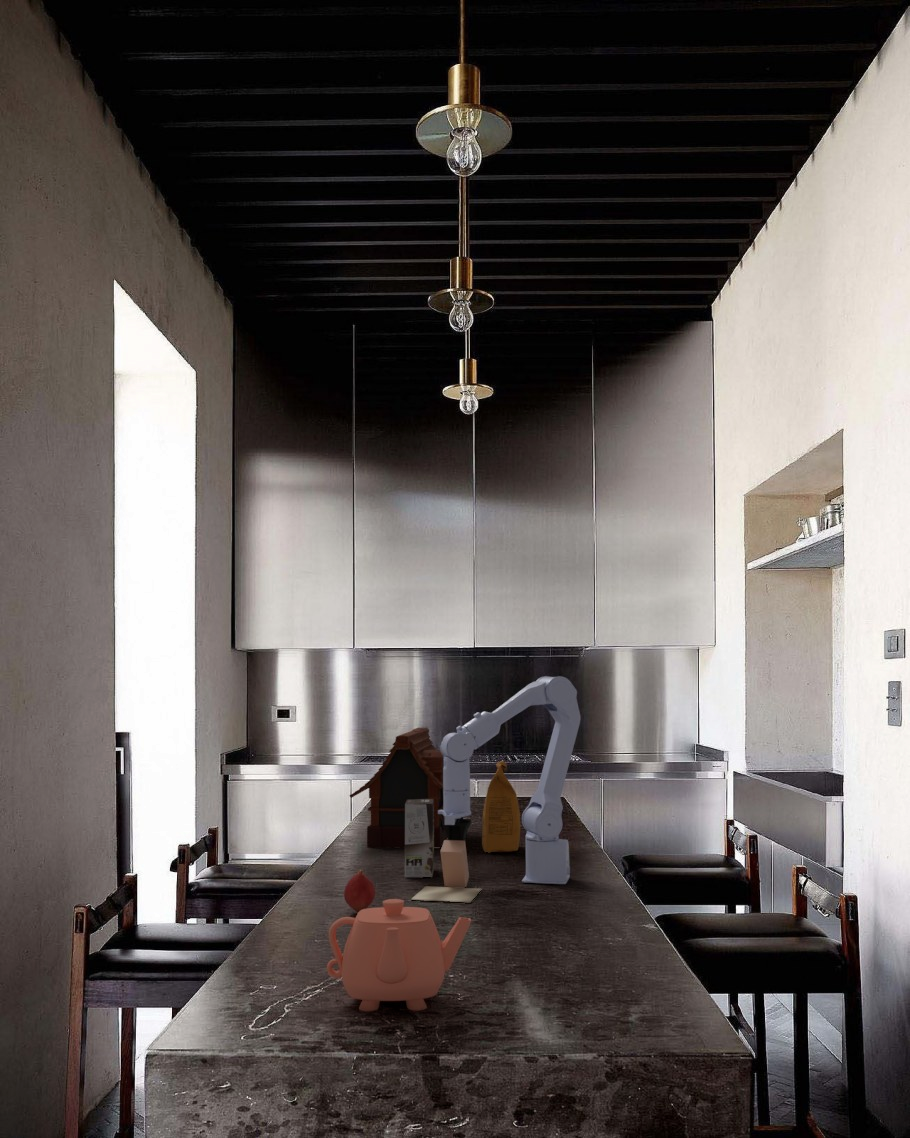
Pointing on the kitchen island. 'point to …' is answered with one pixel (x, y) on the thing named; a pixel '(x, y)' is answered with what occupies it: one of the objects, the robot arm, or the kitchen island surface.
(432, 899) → the birch board
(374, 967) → the teapot
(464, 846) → the tall block
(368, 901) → the onion
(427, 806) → the coffee box
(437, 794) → the house
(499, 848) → the coffee package
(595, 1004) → the kitchen island surface
